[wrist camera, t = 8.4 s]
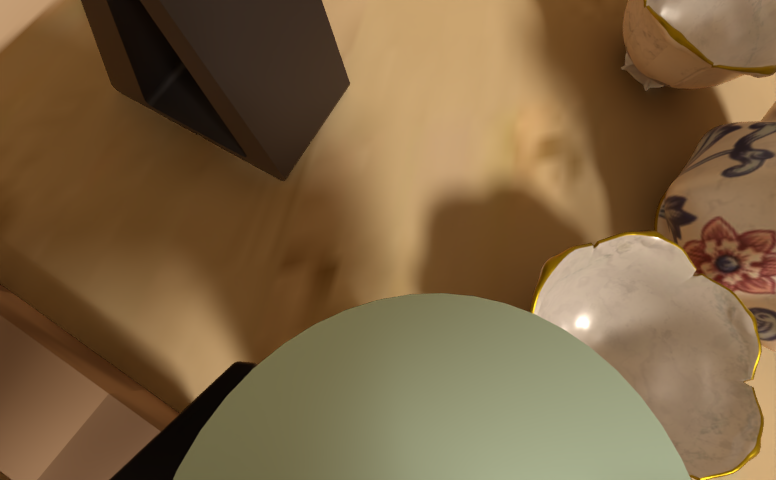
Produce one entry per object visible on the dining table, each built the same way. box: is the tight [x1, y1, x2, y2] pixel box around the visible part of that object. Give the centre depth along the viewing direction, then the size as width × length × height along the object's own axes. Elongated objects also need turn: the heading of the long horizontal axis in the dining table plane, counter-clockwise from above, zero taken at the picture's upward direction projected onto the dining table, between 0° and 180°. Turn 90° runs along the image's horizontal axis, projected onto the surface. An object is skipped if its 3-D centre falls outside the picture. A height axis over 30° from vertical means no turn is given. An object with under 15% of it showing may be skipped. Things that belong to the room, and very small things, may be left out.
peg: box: [173, 293, 691, 480], centre depth 9 cm, size 5×5×11 cm
